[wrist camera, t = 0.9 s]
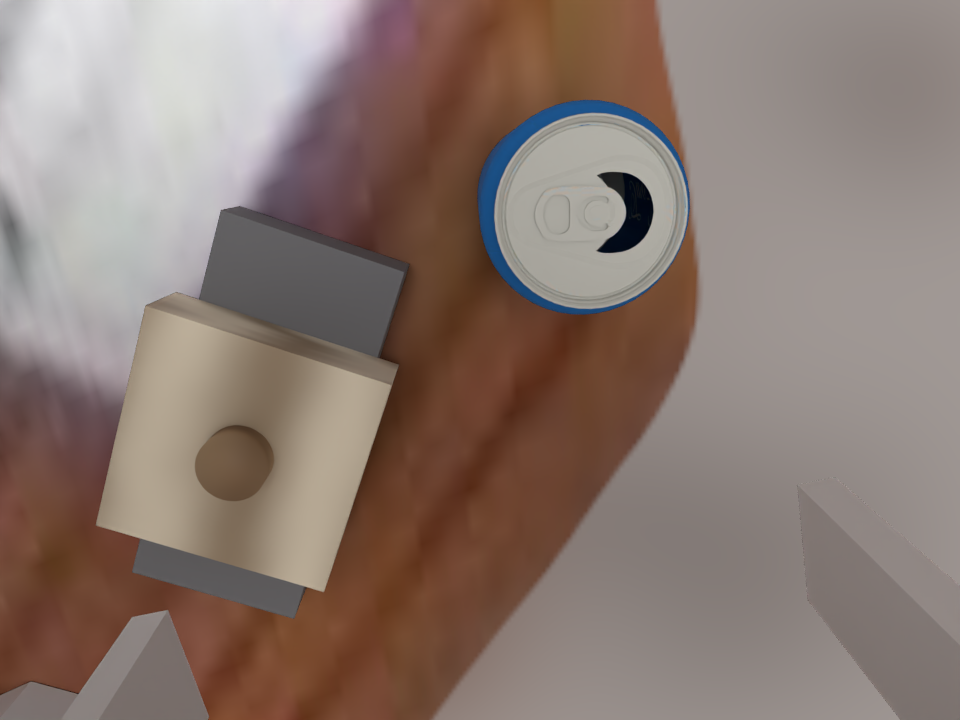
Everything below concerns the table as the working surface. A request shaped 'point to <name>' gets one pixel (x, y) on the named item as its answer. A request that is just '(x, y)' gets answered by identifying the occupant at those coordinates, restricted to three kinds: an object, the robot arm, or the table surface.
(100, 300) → the table surface
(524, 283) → the beverage can
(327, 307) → the gray rectangular block
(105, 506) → the lid
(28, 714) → the bowl
